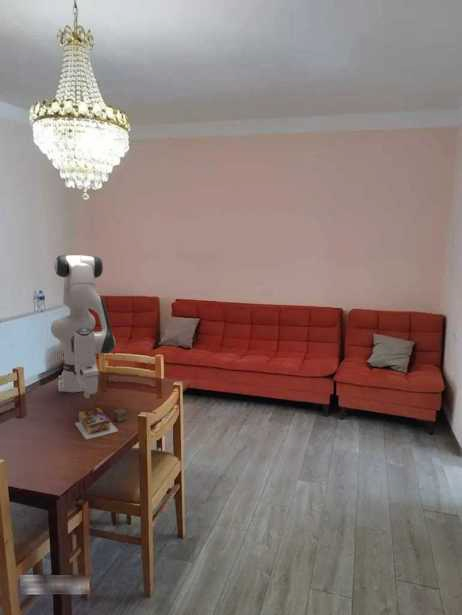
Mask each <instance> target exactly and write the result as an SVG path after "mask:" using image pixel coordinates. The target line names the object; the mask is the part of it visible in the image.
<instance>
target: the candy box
mask: <svg viewBox="0 0 462 615" xmlns="http://www.w3.org/2000/svg"><path fill="white" fill-rule="evenodd" d="M78 422H81V423H82V425H83V426H84V428H85V429H86V430H87V432H88V433H89V434H91V433H95V432H99V431H103V430H107V429H110V422H111V420H110V419H109V417H108V416H107V415H106V414H105V413H104V412H103V410H102V409H101V408H99V407H97V408H92V409H91V408H90V409H88V410H83V411H78Z"/></svg>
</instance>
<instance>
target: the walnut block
mask: <svg viewBox="0 0 462 615" xmlns="http://www.w3.org/2000/svg"><path fill="white" fill-rule="evenodd" d="M112 420H113V421H114V422H115V421H116V422H117V423H121V422H123V421H125V420H127V410H125V409H122V408H119V409H116V410H113V411H112Z"/></svg>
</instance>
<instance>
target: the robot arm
mask: <svg viewBox="0 0 462 615" xmlns="http://www.w3.org/2000/svg"><path fill="white" fill-rule="evenodd" d="M103 264H104V263H103V261H102V259H101V258H100V257H97V256H90V255H83V254H81V255H80V254H78V255H76V254H75V255H74V254H73V255H72V254H71V255H66V254H61V255H58V256H57V257H56V258H55V261H54V266H53V268H54V271H55V274H56V275H57V276H58V277H61V278H64V282H63V304H64V305H65V306H66V307H67V308H68V309H69V315H65V316H61V317H59V318H57V319H56V320H53V321H52V323H51V325H50V331H51V334H52V336H53V337H54V338H56V339H58V341H60V344H61V345H62V349H63V357H64V362H63V371H62V372H61V375H58V381H57V387H58V388H57V389H58V390H57V391H58V392H66V393H79V392H83V397H84V398H85V399H90V397H91V396H90V395H93V394H97V393H98V387H99V386H98V384H99V383H98V380H99V378H98V377H99V376H98V375H99V373H100V370H99V369H98V364H97V356H96V354H109V353H111V352H112V351H113V350H114V349H115V346H116V338H115V336H114V334H113V330H112V327H111V326H112V325H111V323H110V318H109V313H108V309H107V306H106V302H105V300H104V298H103V296H100V295H99V294H98V292H97V289H96V278H100V277H101V276H102V273H103V270H104V265H103ZM90 310H92V311H94V312H95V313H96V314H97V315H98V318H99V322H100V327H101V330H100V331H94V330H93V329H95V327H96V318H95V317H94V315H93V314H92V313H91V312H90Z"/></svg>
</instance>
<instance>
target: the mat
mask: <svg viewBox="0 0 462 615" xmlns="http://www.w3.org/2000/svg"><path fill="white" fill-rule="evenodd" d="M74 425H75V426H76V428H77V429H78V430H79V432H80V433H81V435H82V436H83V438H84V439H85V440H91V439H95V438H98V437H103V436H106V435H111V434H115V433H118V432H119V430H118V428H117V427H116V426H115V425H114V424H113V423H112V422H111V421H110V429H107V430H103V431H99V432H95V433H91V434H89V433H88V432H87V430H86V429H85V428H84V426H83V425H82V423H81V422H80V421H78V422H75V423H74Z"/></svg>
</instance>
